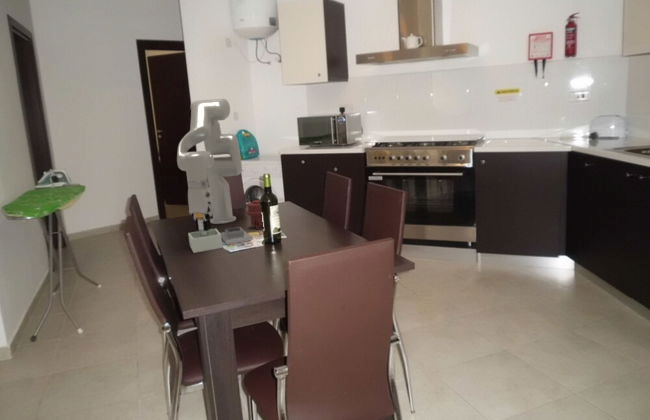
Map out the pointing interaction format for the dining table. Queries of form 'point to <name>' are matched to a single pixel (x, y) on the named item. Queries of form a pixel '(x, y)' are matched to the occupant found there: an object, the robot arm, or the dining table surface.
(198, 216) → the copper-capped metal peg
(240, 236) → the white base with recess
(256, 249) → the dining table surface
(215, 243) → the bin
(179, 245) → the dining table surface
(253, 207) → the mechanical component
